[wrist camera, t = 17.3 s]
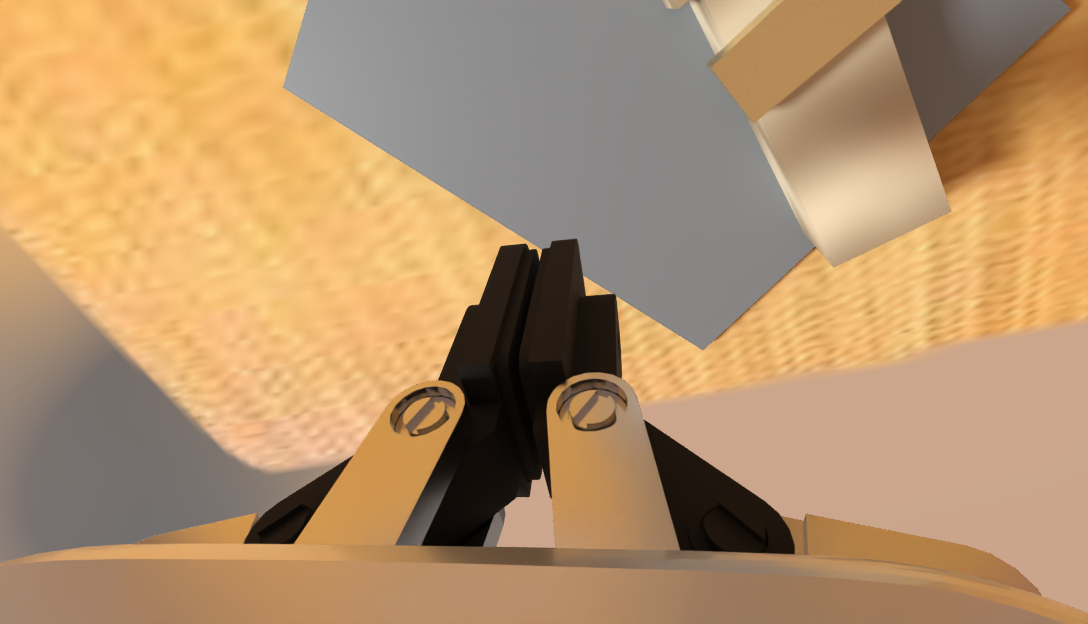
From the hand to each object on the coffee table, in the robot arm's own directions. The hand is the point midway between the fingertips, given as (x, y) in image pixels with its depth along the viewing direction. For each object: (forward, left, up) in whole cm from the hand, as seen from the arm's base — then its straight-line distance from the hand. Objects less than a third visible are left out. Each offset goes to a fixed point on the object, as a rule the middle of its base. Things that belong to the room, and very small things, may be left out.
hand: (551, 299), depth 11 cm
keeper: (-9, +3, -14) cm, 16 cm away
